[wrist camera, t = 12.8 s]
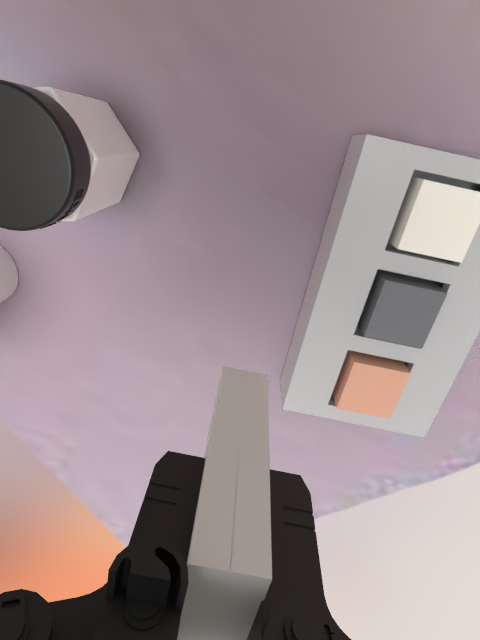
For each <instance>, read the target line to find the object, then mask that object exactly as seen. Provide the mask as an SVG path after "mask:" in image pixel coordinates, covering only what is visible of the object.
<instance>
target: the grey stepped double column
mask: <svg viewBox="0 0 480 640" xmlns="http://www.w3.org/2000/svg"><path fill="white" fill-rule="evenodd" d="M18 278H19V276H18V272H17V267H16V265H15V263H14V261H13V259H12V258H11V256H10V255H9V254H8V253H7V252H6V250H5V249H4V248H3V247H2V246H0V303H1V302H2V301H4V300H6V299H7V298H9V297H10V296H11V295H12V294H14V292H15V290H16V288H17V286H18Z"/></svg>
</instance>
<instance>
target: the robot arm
mask: <svg viewBox="0 0 480 640" xmlns="http://www.w3.org/2000/svg"><path fill="white" fill-rule="evenodd" d="M312 513H313V510H312V502H311V495H310V492H309V490H308V488H307V486H306V485H305V483H304V481H303V479H302V477H301V476H300V475H296V474H290V473H285V472H280V471H275V470H270V462H269V417H268V375H264V374H259V373H254V372H249V371H245V370H240V369H235V368H230V367H225V366H223V368H222V372H221V377H220V382H219V386H218V391H217V396H216V400H215V405H214V410H213V414H212V419H211V423H210V428H209V433H208V439H207V444H206V449H205V455H204V458H201V457H196V456H191V455H186V454H181V453H175V452H170V451H168V452H167V453H166V454H165V455H164V456H163V457H162V458H161V459H160V460H159V461H158V462H157V463H156V464H155V467H154V470H153V473H152V476H151V479H150V482H149V486H148V488H147V491H146V494H145V497H144V501H143V503H142V506H141V509H140V512H139V515H138V518H137V521H136V524H135V527H134V530H133V533H132V536H131V539H130V542H129V545H128V546H127V547H126V548H125V549H124V550H123V551H121V552H120V553H119V554H118V555H117V556H116V558H115V560H114V561H113V563H112V565H111V567H110V568H109V573H108V582H107V583H106V584H105V585H104V586H103V587H101V588H100V589H98V590H96V591H94V592H92V593H90V594H87V595H84V596H80V597H77V598H71V599H66V600H61V601H55V602H49V603H48V602H47V601H46V600H45V599H44V598H43V597H41V596H40V595H39V594H38V593H37V592H32V591H28V590H23V589H20V590H14V591H9V592H4V593H2V594H0V640H351V639H350V638H349V637H348V636H347V635H346V634H345V633H344V632H343V631H342V630H341V629H340V628H339V626H338V625H337V624H336V622H335V621H334V619H333V618H332V616H331V614H330V611H329V609H328V607H327V604H326V600H325V596H324V590H323V583H322V576H321V568H320V561H319V554H318V546H317V539H316V532H315V525H314V517H313V516H312Z"/></svg>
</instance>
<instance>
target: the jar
mask: <svg viewBox="0 0 480 640" xmlns="http://www.w3.org/2000/svg"><path fill="white" fill-rule="evenodd" d="M139 156H140V154H139V152H138V150H137V149H136V147H135V145H134V144H133V142H132V141H131V139H130V138H129V136H128V134H127V133H126V131H125V130H124V128H123V126H122V125H121V123H120V122H119V120H118V118H117V117H116V115H115V114H114V112H113V111H112V109H111V107H110V106H109V104H108V103H107V102H106V101H102V100H98V99H94V98H91V97H87V96H83V95H79V94H75V93H72V92H68V91H64V90H60V89H56V88H53V87H28V86H24V85H20V84H16V83H12V82H8V81H4V80H0V227H1V228H5V229H9V230H16V231H28V230H35V229H39V228H40V229H41V228H45V227H48V226H51V225H53V224H56V222H60V221H76V220H78V219H81V218H83V217H86V216H88V215H90V214H93V213H95V212H98V211H100V210H102V209H105V208H107V207H110V206H112V205H114V204H117V203H119V202H120V201H121V199H122V196H123V194H124V192H125V189H126V187H127V184H128V182H129V180H130V177H131V175H132V173H133V170H134V168H135V165H136V163H137V161H138V158H139Z"/></svg>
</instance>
